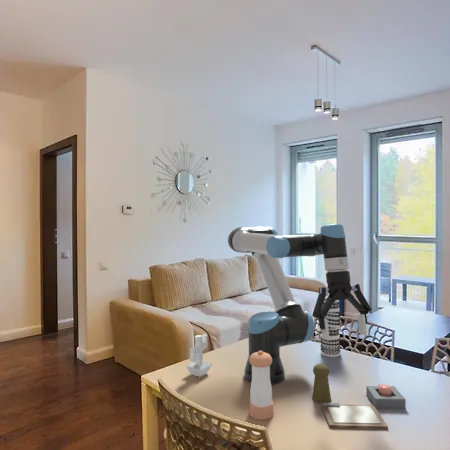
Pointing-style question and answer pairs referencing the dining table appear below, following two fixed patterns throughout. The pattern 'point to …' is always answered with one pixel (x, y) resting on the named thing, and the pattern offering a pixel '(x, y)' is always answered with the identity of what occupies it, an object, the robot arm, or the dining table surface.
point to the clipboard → (353, 416)
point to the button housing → (386, 398)
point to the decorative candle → (332, 331)
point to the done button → (385, 390)
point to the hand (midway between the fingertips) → (345, 337)
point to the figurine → (198, 357)
